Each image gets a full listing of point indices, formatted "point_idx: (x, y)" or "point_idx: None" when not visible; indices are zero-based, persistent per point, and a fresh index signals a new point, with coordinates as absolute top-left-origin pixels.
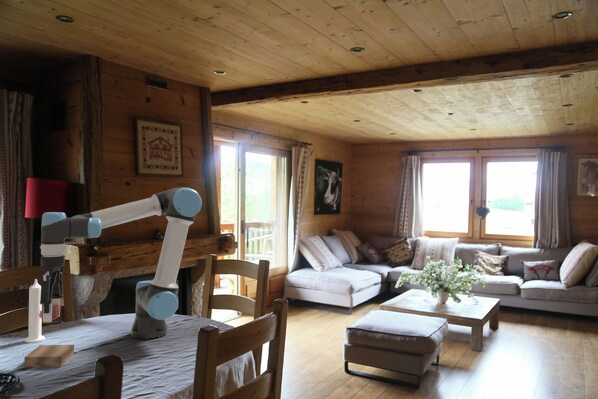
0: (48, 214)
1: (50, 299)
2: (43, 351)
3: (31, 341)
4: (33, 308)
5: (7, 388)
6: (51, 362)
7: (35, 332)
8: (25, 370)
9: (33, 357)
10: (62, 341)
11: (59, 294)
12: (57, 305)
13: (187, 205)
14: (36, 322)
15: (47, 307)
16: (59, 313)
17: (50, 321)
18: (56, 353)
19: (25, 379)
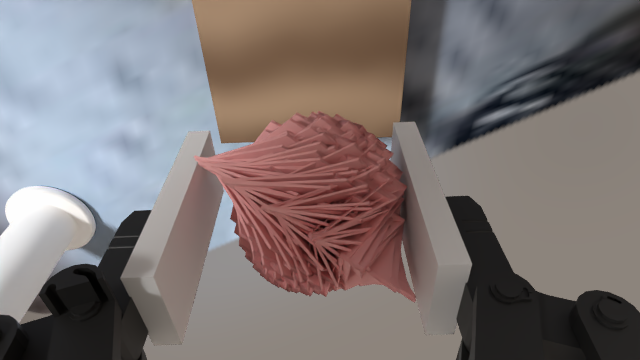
0: None
1: (519, 333)
2: (317, 85)
3: (90, 217)
4: None
5: (631, 68)
6: None
7: (50, 237)
8: (429, 90)
9: (401, 96)
10: (17, 95)
11: (111, 345)
12: (303, 204)
13: None
14: (19, 275)
15: (502, 254)
16: (294, 122)
17: (417, 129)
18: None
19: (548, 39)
